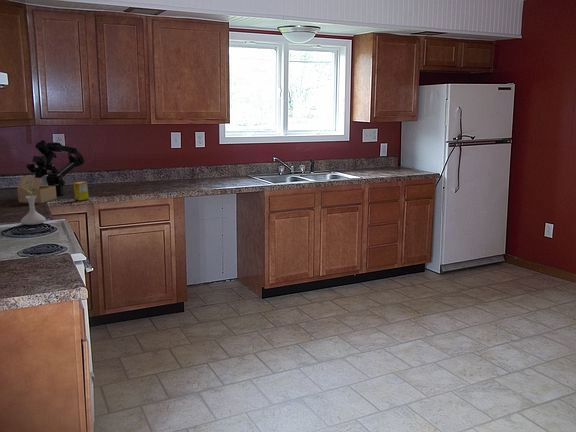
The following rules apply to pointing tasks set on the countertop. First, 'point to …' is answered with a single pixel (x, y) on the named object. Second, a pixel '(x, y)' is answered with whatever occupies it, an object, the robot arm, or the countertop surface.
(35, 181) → the carton flap
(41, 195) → the carton
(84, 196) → the supplement box
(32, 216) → the flower in vase
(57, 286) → the countertop surface
